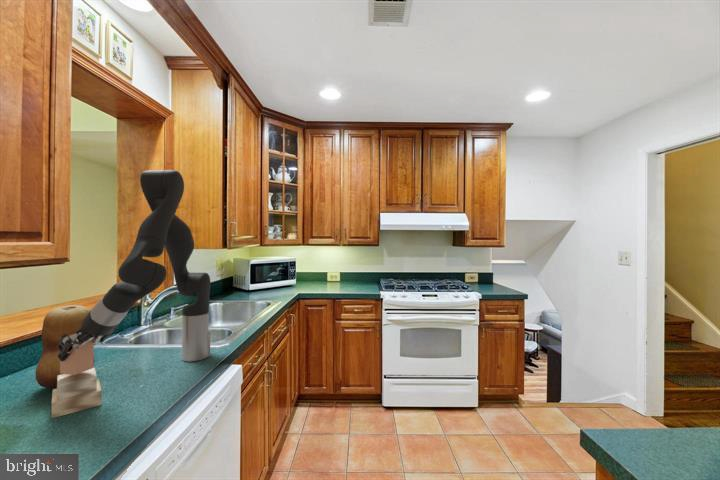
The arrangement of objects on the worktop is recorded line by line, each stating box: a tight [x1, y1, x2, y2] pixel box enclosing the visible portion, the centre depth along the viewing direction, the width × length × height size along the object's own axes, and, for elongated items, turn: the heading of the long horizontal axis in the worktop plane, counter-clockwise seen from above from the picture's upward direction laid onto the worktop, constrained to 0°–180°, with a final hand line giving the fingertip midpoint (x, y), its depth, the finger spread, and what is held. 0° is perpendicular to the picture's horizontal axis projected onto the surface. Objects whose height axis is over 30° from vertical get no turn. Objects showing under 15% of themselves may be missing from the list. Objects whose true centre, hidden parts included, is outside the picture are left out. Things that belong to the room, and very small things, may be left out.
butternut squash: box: [35, 304, 96, 390], centre depth 100 cm, size 14×13×25 cm
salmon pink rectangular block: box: [60, 340, 95, 375], centre depth 89 cm, size 5×5×9 cm
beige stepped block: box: [51, 367, 102, 419], centre depth 89 cm, size 10×10×8 cm
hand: (71, 355), depth 89 cm, fingers closed on salmon pink rectangular block, 5 cm apart
